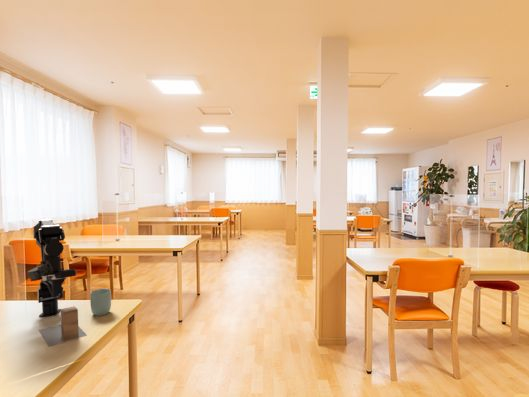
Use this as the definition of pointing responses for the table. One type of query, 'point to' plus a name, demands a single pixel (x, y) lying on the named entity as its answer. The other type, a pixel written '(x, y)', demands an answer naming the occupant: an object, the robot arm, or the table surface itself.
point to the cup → (100, 301)
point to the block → (69, 323)
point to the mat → (57, 335)
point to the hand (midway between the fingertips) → (54, 297)
